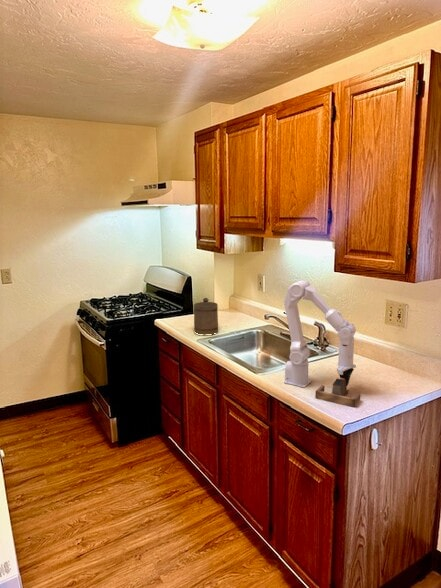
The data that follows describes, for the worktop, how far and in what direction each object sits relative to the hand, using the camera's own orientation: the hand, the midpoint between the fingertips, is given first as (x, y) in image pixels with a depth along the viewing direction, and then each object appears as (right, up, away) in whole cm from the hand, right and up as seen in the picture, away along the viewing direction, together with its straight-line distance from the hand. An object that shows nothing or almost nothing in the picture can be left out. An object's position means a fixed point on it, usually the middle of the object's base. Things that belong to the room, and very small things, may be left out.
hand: (344, 385), depth 166 cm
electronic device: (-3, -4, -4) cm, 6 cm away
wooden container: (-59, +13, +89) cm, 107 cm away
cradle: (-5, -4, -7) cm, 10 cm away
